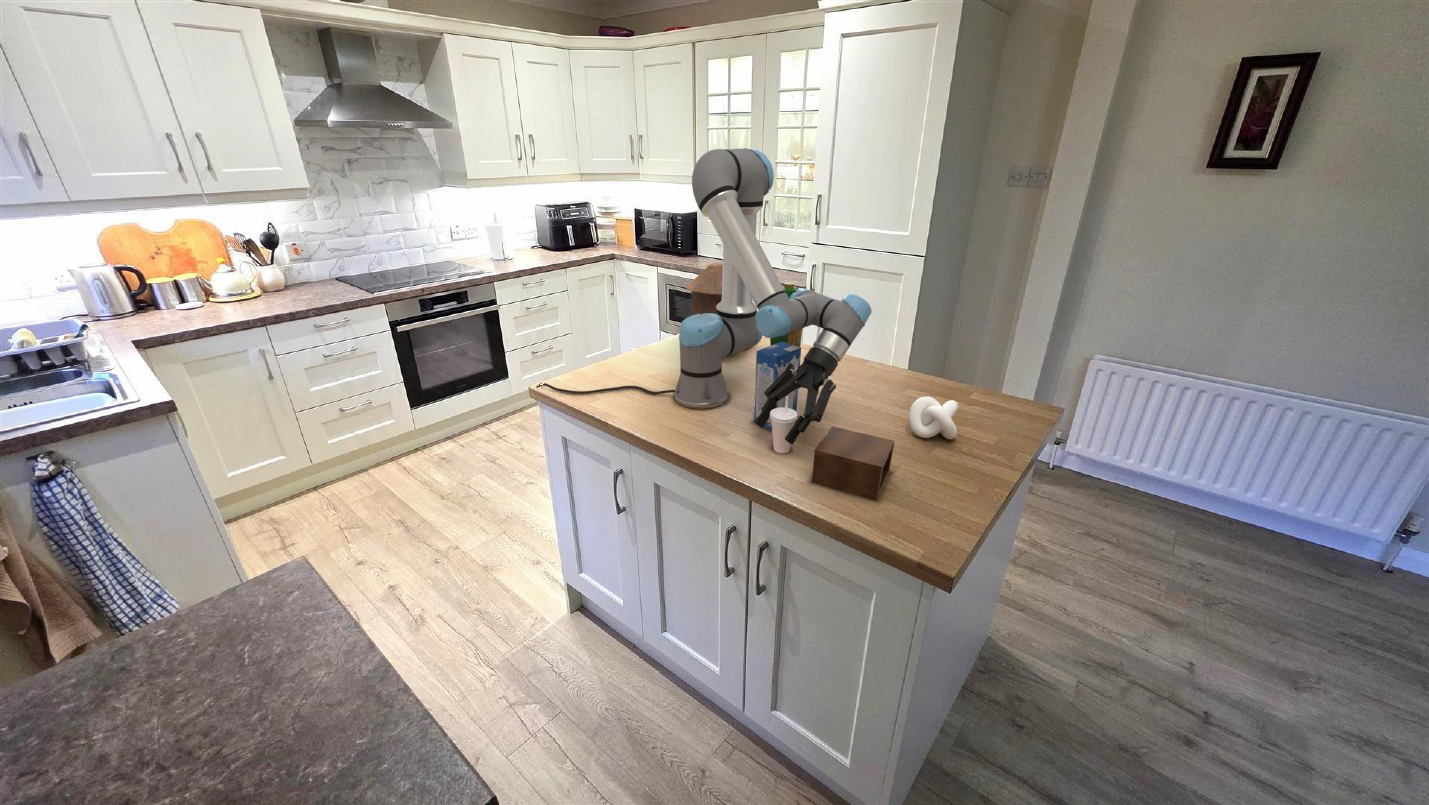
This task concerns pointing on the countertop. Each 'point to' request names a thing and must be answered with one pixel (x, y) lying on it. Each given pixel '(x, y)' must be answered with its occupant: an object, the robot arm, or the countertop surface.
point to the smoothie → (782, 426)
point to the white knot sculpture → (933, 418)
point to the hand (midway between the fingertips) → (773, 433)
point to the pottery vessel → (706, 289)
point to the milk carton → (774, 374)
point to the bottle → (794, 336)
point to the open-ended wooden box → (852, 462)
